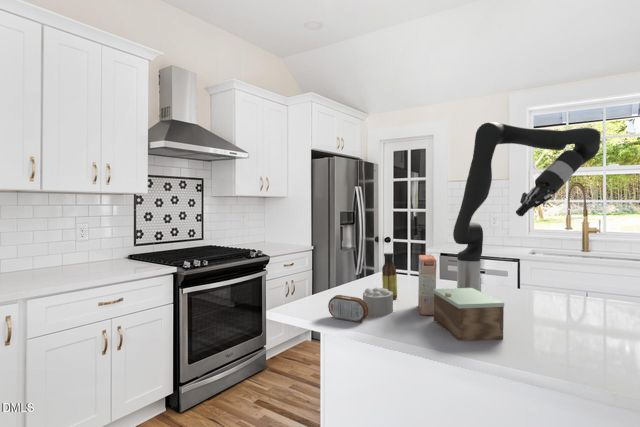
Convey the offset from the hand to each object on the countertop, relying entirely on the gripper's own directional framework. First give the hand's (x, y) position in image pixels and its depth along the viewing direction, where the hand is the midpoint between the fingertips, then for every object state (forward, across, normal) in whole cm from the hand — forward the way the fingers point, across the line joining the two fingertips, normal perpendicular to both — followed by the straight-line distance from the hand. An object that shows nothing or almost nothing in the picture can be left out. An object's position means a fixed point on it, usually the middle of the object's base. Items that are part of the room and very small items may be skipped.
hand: (518, 214), depth 128 cm
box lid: (+32, 0, +7) cm, 33 cm away
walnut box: (+39, 0, +14) cm, 42 cm away
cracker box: (+43, -22, +11) cm, 50 cm away
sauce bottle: (+50, -43, +4) cm, 66 cm away
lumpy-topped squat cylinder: (+57, -23, -3) cm, 62 cm away
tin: (+66, -14, -12) cm, 69 cm away
